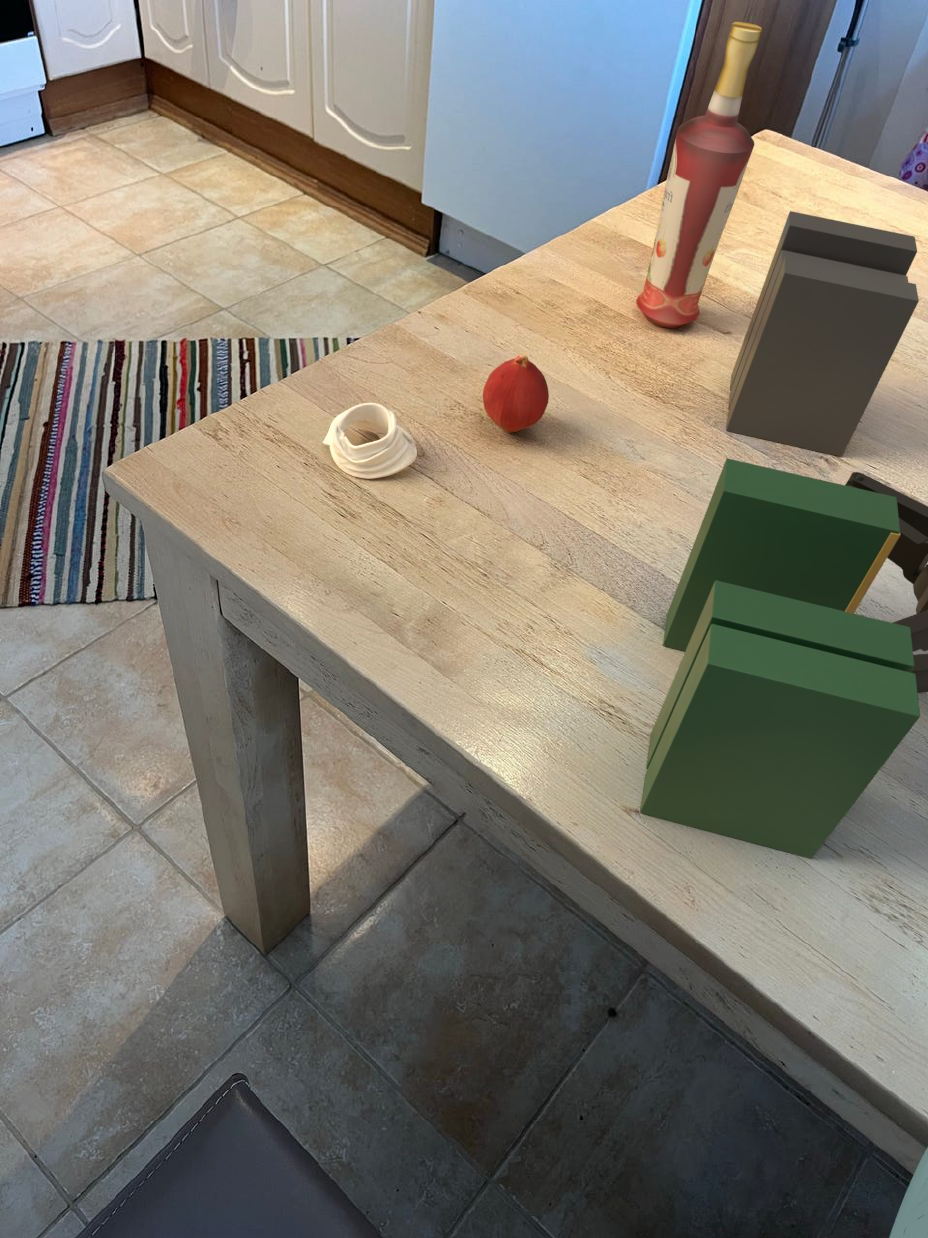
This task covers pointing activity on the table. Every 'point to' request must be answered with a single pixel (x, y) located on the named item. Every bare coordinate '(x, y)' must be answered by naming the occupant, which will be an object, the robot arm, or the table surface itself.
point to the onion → (515, 394)
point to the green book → (784, 543)
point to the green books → (778, 718)
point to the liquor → (700, 191)
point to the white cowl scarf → (374, 456)
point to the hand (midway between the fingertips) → (741, 547)
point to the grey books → (821, 333)
